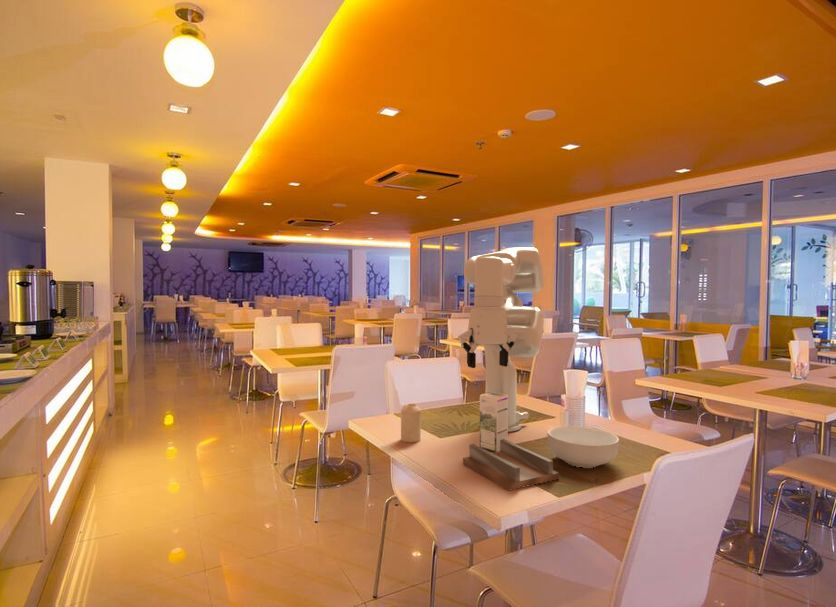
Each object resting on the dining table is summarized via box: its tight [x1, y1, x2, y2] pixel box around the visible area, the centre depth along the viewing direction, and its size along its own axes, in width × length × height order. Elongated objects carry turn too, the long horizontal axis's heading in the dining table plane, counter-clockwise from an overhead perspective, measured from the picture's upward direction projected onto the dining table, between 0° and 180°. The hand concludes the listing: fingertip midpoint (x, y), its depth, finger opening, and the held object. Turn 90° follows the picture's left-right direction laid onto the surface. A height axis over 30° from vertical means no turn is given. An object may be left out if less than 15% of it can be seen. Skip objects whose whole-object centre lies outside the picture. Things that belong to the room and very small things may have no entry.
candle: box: [400, 403, 422, 443], centre depth 141 cm, size 6×6×10 cm
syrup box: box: [479, 392, 509, 452], centre depth 134 cm, size 6×6×14 cm
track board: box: [462, 439, 560, 491], centre depth 117 cm, size 14×18×4 cm
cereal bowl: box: [547, 426, 620, 469], centre depth 123 cm, size 17×17×7 cm
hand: (487, 366), depth 134 cm, fingers open, 9 cm apart
